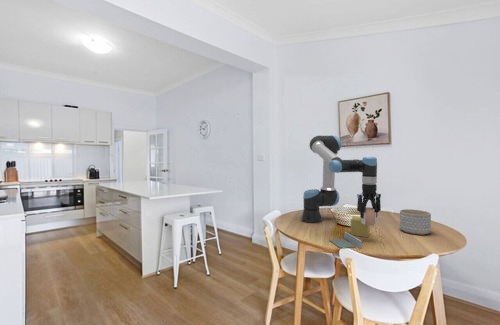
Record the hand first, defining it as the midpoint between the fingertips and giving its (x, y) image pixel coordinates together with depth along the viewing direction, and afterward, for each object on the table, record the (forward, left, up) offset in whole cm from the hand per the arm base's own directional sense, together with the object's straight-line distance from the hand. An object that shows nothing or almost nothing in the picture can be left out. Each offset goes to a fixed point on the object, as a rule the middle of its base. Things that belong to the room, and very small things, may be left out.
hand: (368, 223), depth 141 cm
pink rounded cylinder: (0, 0, 0) cm, 0 cm away
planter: (-9, +39, -10) cm, 41 cm away
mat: (+3, -18, -10) cm, 21 cm away
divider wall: (+3, -11, -10) cm, 16 cm away
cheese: (-11, +2, -10) cm, 16 cm away
